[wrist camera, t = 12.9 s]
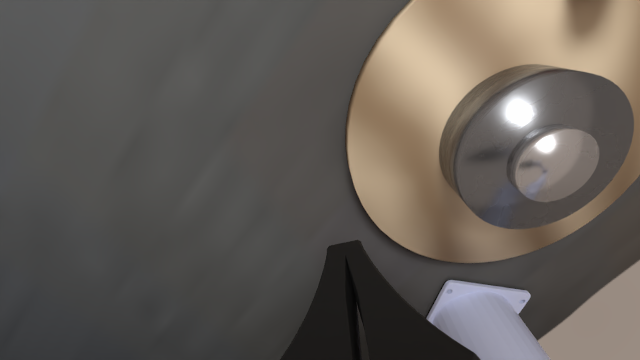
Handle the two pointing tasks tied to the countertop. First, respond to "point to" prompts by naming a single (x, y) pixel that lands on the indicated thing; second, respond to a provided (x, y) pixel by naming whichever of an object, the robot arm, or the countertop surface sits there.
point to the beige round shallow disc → (450, 88)
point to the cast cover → (535, 144)
